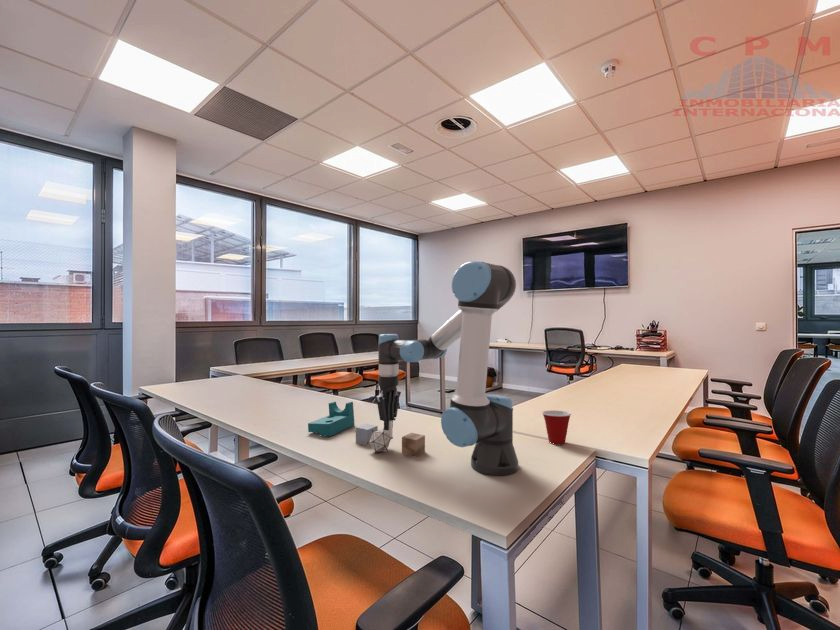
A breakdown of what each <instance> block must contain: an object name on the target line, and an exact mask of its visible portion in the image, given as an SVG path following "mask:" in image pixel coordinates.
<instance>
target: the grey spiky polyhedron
mask: <svg viewBox="0 0 840 630" xmlns="http://www.w3.org/2000/svg"><path fill="white" fill-rule="evenodd" d="M372 432H373V433H372V435H371V438H370V441H369V442H367V444H368V443H369V444H370V445H369V446H370V447H371V448H372V449H373V450H374V454H375V455H376V454H377V452H382V451H387V452H389V449H388V448H389V445H390V443H391V441H392V440H393V439H394V437H392V438H391V437H390V436H389V435H388V434H387V433H386V431H385V428H384V427H383V429H380V430H379V429H378V431H373V430H372Z"/></svg>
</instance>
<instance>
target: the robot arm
mask: <svg viewBox="0 0 840 630" xmlns="http://www.w3.org/2000/svg"><path fill="white" fill-rule="evenodd" d="M516 289H517V282H516V278H515V275H514V274H513V272H512V271H511V270H510V269H509V268H507V267H505V266H502V265H498V264H494V263H489V262H484V261H473V260H472V261H468V262H465V263H463V264H461V265H460V267H458V268H457V269H456V270H455V272H454V274H453V277H452V281H451V291H452V293H453V294H454V297H455V298H456V299H457V308H458V309H459V310H458V311H456V313H455V314H453V315H452V316H451V317H450V318H448V320H446V322H444V323H443V324H442V325H441V326H440V327H439V328H438V329H437V330H436V331H435V332H433V334H431V335H430V336H429V337H427V338H426V339H423V338H422V339H406V340H405V339H399V335H398V334H397V333H383V334H379V336H378V345H377V346H378V350H377V351H378V377H377V378H378V386H379V387H380V390H379V394H378V395H376V396H375V397H374V398H375V401H376V403H377V404H376V405H377V411H378V415H379V416H378V417H379V420H380V421H383V429H384V428H385V431H386V433H387V434H388V435H389V436H390V437H391V438H392V437H393V436H394V435H393V434H394V433H393V431H394V430H393V429H394V421H396V419H397V416H398V410H399V402H400V397H401V394H402V392H401V390H398V388H397V386H399V375H398V374H399V361H400V362H405V363H418V362H420V361H422V360H423V361H424V360H437V359H440V358H443V357H445V355H446V354H447V351H448V348H449V347H451V346H452V345H453V344H454V343H455V342H457V341H458V340H459V339H460V342H459V351H458V352H459V353H458V354H459V355H458V367H457V379H456V391H455V392H454V393H453V394H452V395H450V402H449V407H447V408H446V409H445V410H444V411H443V412H442V414H441V419H440V424H441V425H440V426H441V429H442V432H443V434H444V435H445V437H446V439H447V440H448V441H449V443H451V444H452V445H453V446H456V447H457V448H466V447H472V446H474V448H473V450H472V454H471V456H470V466H471V468H472V469H473V470H475V471H477V472H478V473H481V474H484V475H488V476H497V477H498V476H499V477H501V476H508V475H509V476H510V475H513V474H515V473H517V471H519V460H518V459H519V458H518V457H517V453H516V449H515V447H514V442H513V439H514V437H513V435H514V431H513V428H514V427H513V426H514V425H513V424H514V423H513V420H514V417H513V415H514V412H513V411H514V408H513V400H512V398H510V397H508V396H505V395H501V394H492V393H486V387H487V378H488V366H489V353H490V342H491V331H492V317H493V315H494V314H495V313H496V312H498V311H499V310H500V309H501V308H502V307H504V306H505V305H506V304H507V303H508V302H509V301H510V300H511V299H512V298H513V296H514V295H515V292H516ZM393 438H394V437H393Z"/></svg>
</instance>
